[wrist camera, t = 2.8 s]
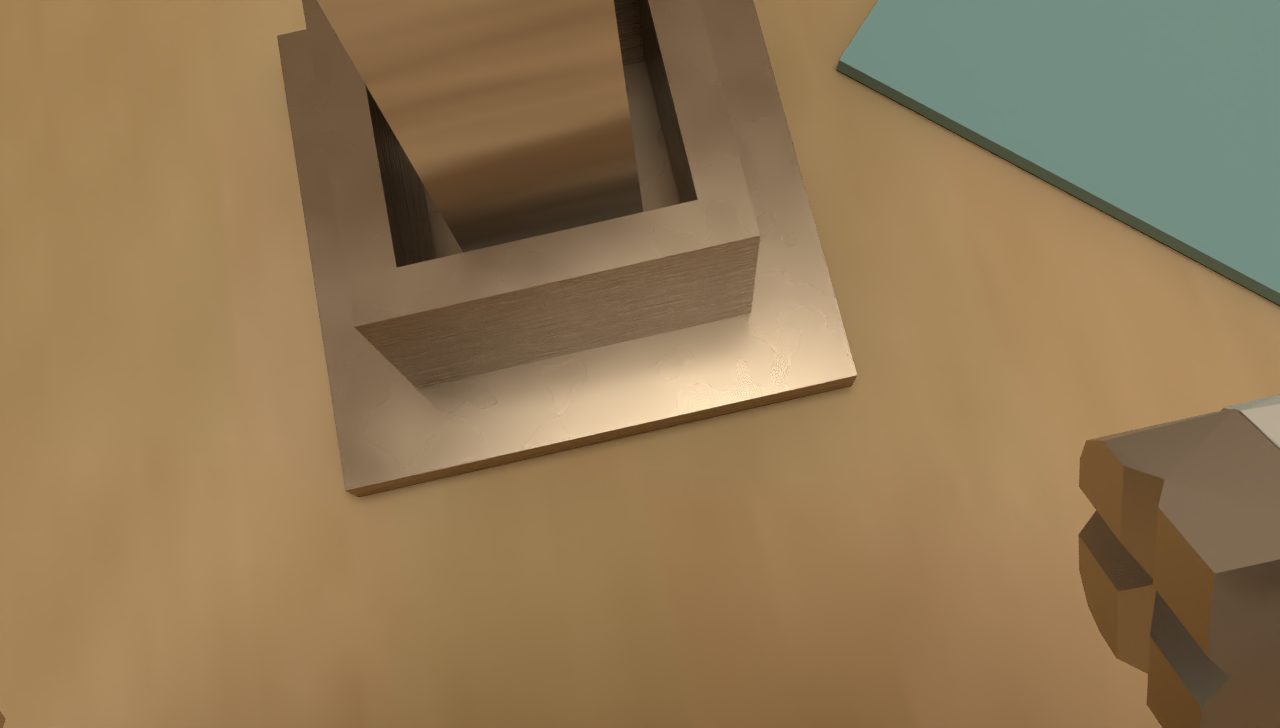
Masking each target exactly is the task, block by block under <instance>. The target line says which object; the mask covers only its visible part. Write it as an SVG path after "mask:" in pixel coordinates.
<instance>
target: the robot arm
mask: <svg viewBox="0 0 1280 728" xmlns="http://www.w3.org/2000/svg"><path fill="white" fill-rule="evenodd" d="M1079 487H1080V489H1081V490H1082V491H1083V493H1084V494H1085V495H1086V497H1087V498H1088V499H1089V501H1090V502H1091V503H1092V505H1093V506H1094V508H1095V509H1096V511H1095V513H1094V514H1093V516H1092V517H1091V518H1090V520H1089V521H1088V522H1087V524H1086V525H1085V527H1084V528H1083V529H1082V531H1081V532H1080V533H1079V571H1080V575H1081V579H1082V583H1083V587H1084V591H1085V595H1086V599H1087V603H1088V607H1089V609H1090V611H1091V613H1092V616H1093V618H1094V620H1095V622H1096V624H1097V627H1098V629H1099V631H1100V633H1101V635H1102V636H1103V638H1104V639H1105V641H1106V642H1107V644H1108V646H1109V647H1110V649H1111V650H1112V652H1113V653H1114V655H1115V657H1116V658H1117V659H1119V660H1121V661H1123V662H1125V663H1127V664H1129V665H1131V666H1133V667H1135V668H1137V669H1139V670H1141V671H1143V672H1145V673H1147V674H1148V687H1147V705H1148V707H1149V708H1150V710H1151V711H1152V713H1153V714H1154V716H1155V717H1156V719H1157V720H1158V722H1159V723H1160V725H1161V726H1162V728H1280V394H1279V395H1275V396H1271V397H1267V398H1263V399H1259V400H1254V401H1250V402H1246V403H1242V404H1238V405H1234V406H1230V407H1225V408H1223V409H1222V410H1221V411H1219V412H1213V413H1208V414H1204V415H1199V416H1195V417H1190V418H1186V419H1181V420H1177V421H1172V422H1168V423H1163V424H1159V425H1154V426H1150V427H1145V428H1141V429H1136V430H1131V431H1127V432H1122V433H1118V434H1113V435H1109V436H1104V437H1100V438H1095V439H1091V440H1086V443H1085V446H1084V448H1083V451H1082V454H1081V457H1080V475H1079ZM4 723H5V717H4V716H3V715H2V713H1V712H0V728H3V726H4Z"/></svg>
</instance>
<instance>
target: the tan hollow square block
mask: <svg viewBox="0 0 1280 728" xmlns="http://www.w3.org/2000/svg"><path fill="white" fill-rule="evenodd" d="M302 2H303V9H304V15H305V21H306V28H307V29H306V30H301V31H297V32H293V33H288V34H284V35H279V36H277V38H278V45H279V51H280V58H281V65H282V71H283V78H284V85H285V91H286V98H287V104H288V111H289V118H290V124H291V131H292V138H293V144H294V151H295V157H296V164H297V171H298V177H299V184H300V191H301V197H302V204H303V211H304V217H305V224H306V230H307V237H308V244H309V250H310V257H311V264H312V270H313V277H314V284H315V290H316V297H317V303H318V310H319V317H320V323H321V330H322V337H323V343H324V350H325V356H326V363H327V370H328V376H329V383H330V390H331V396H332V403H333V410H334V416H335V423H336V429H337V436H338V443H339V449H340V456H341V463H342V469H343V476H344V483H345V489H346V491H348V492H350V493H352V494H354V495H356V496H358V497H360V496H365V495H369V494H373V493H378V492H382V491H387V490H391V489H396V488H400V487H405V486H409V485H413V484H418V483H422V482H427V481H431V480H436V479H440V478H444V477H449V476H453V475H458V474H462V473H467V472H471V471H475V470H480V469H484V468H489V467H493V466H498V465H502V464H507V463H511V462H515V461H520V460H524V459H529V458H533V457H538V456H542V455H546V454H551V453H555V452H560V451H564V450H569V449H573V448H577V447H582V446H586V445H591V444H595V443H600V442H604V441H608V440H613V439H617V438H622V437H626V436H631V435H635V434H640V433H644V432H648V431H653V430H657V429H662V428H666V427H671V426H675V425H679V424H684V423H688V422H693V421H697V420H702V419H706V418H710V417H715V416H719V415H724V414H728V413H733V412H737V411H742V410H746V409H750V408H755V407H759V406H764V405H768V404H773V403H777V402H781V401H786V400H790V399H795V398H799V397H804V396H808V395H812V394H817V393H821V392H826V391H830V390H835V389H839V388H843V387H848V386H852V384H853V382H854V380H855V378H856V376H857V373H856V370H855V366H854V363H853V359H852V355H851V352H850V348H849V345H848V341H847V337H846V334H845V330H844V327H843V323H842V319H841V316H840V312H839V309H838V305H837V301H836V298H835V294H834V290H833V287H832V283H831V280H830V276H829V272H828V269H827V265H826V262H825V258H824V254H823V251H822V247H821V244H820V240H819V236H818V233H817V229H816V226H815V222H814V218H813V215H812V211H811V208H810V204H809V200H808V197H807V193H806V189H805V186H804V182H803V179H802V175H801V171H800V168H799V164H798V161H797V157H796V153H795V150H794V146H793V143H792V139H791V135H790V132H789V128H788V125H787V121H786V117H785V114H784V110H783V107H782V103H781V99H780V96H779V92H778V88H777V85H776V81H775V78H774V74H773V70H772V67H771V63H770V60H769V56H768V52H767V49H766V45H765V42H764V38H763V34H762V31H761V27H760V24H759V20H758V16H757V13H756V9H755V6H754V2H753V0H614V6H615V13H616V20H617V28H618V35H619V42H620V49H621V56H622V63H623V70H624V78H625V85H626V92H627V99H628V106H629V113H630V120H631V128H632V135H633V142H634V149H635V156H636V163H637V170H638V178H639V185H640V192H641V199H642V206H643V212H641V213H637V214H633V215H628V216H624V217H619V218H615V219H610V220H606V221H601V222H597V223H593V224H588V225H584V226H579V227H575V228H570V229H566V230H561V231H557V232H553V233H548V234H544V235H539V236H535V237H530V238H526V239H522V240H517V241H513V242H508V243H504V244H499V245H495V246H490V247H486V248H482V249H477V250H473V251H468V252H464V253H463V251H462V250H461V248H460V246H459V245H458V243H457V241H456V239H455V238H454V236H453V234H452V233H451V231H450V229H449V227H448V226H447V224H446V222H445V220H444V219H443V217H442V215H441V214H440V212H439V210H438V208H437V207H436V205H435V203H434V202H433V200H432V198H431V196H430V195H429V193H428V191H427V189H426V188H425V186H424V184H423V183H422V181H421V179H420V177H419V176H418V174H417V172H416V171H415V169H414V167H413V165H412V164H411V162H410V160H409V158H408V157H407V155H406V153H405V152H404V150H403V148H402V146H401V145H400V143H399V141H398V139H397V138H396V136H395V134H394V133H393V131H392V129H391V127H390V126H389V124H388V122H387V121H386V119H385V117H384V115H383V114H382V112H381V110H380V108H379V107H378V105H377V103H376V102H375V100H374V98H373V96H372V95H371V93H370V91H369V90H368V88H367V86H366V84H365V83H364V81H363V79H362V77H361V76H360V74H359V72H358V71H357V69H356V67H355V65H354V64H353V62H352V60H351V59H350V57H349V55H348V53H347V52H346V50H345V48H344V46H343V45H342V43H341V41H340V40H339V38H338V36H337V34H336V33H335V31H334V29H333V28H332V26H331V24H330V22H329V21H328V19H327V17H326V15H325V14H324V12H323V10H322V9H321V7H320V5H319V3H318V2H317V0H302Z"/></svg>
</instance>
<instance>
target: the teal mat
mask: <svg viewBox="0 0 1280 728" xmlns="http://www.w3.org/2000/svg"><path fill="white" fill-rule="evenodd" d="M837 70H838V71H840V72H842V73H844V74H846V75H847V76H849V77H851V78H853V79H855V80H857V81H859V82H861V83H863V84H864V85H866V86H868V87H870V88H872V89H874V90H876V91H878V92H879V93H881V94H883V95H885V96H887V97H889V98H891V99H893V100H894V101H896V102H898V103H900V104H902V105H904V106H906V107H908V108H910V109H911V110H913V111H915V112H917V113H919V114H921V115H923V116H925V117H926V118H928V119H930V120H932V121H934V122H936V123H938V124H940V125H942V126H943V127H945V128H947V129H949V130H951V131H953V132H955V133H957V134H958V135H960V136H962V137H964V138H966V139H968V140H970V141H972V142H973V143H975V144H977V145H979V146H981V147H983V148H985V149H987V150H989V151H990V152H992V153H994V154H996V155H998V156H1000V157H1002V158H1004V159H1005V160H1007V161H1009V162H1011V163H1013V164H1015V165H1017V166H1019V167H1021V168H1022V169H1024V170H1026V171H1028V172H1030V173H1032V174H1034V175H1036V176H1037V177H1039V178H1041V179H1043V180H1045V181H1047V182H1049V183H1051V184H1052V185H1054V186H1056V187H1058V188H1060V189H1062V190H1064V191H1066V192H1068V193H1069V194H1071V195H1073V196H1075V197H1077V198H1079V199H1081V200H1083V201H1084V202H1086V203H1088V204H1090V205H1092V206H1094V207H1096V208H1098V209H1100V210H1101V211H1103V212H1105V213H1107V214H1109V215H1111V216H1113V217H1115V218H1116V219H1118V220H1120V221H1122V222H1124V223H1126V224H1128V225H1130V226H1131V227H1133V228H1135V229H1137V230H1139V231H1141V232H1143V233H1145V234H1147V235H1148V236H1150V237H1152V238H1154V239H1156V240H1158V241H1160V242H1162V243H1163V244H1165V245H1167V246H1169V247H1171V248H1173V249H1175V250H1177V251H1179V252H1180V253H1182V254H1184V255H1186V256H1188V257H1190V258H1192V259H1194V260H1195V261H1197V262H1199V263H1201V264H1203V265H1205V266H1207V267H1209V268H1210V269H1212V270H1214V271H1216V272H1218V273H1220V274H1222V275H1224V276H1226V277H1227V278H1229V279H1231V280H1233V281H1235V282H1237V283H1239V284H1241V285H1242V286H1244V287H1246V288H1248V289H1250V290H1252V291H1254V292H1256V293H1258V294H1259V295H1261V296H1263V297H1265V298H1267V299H1269V300H1271V301H1273V302H1274V303H1276V304H1278V305H1280V0H878V1H877V3H876V4H875V6H874V7H873V9H872V11H871V12H870V14H869V15H868V17H867V18H866V20H865V21H864V23H863V24H862V26H861V27H860V29H859V30H858V32H857V33H856V35H855V36H854V38H853V39H852V41H851V42H850V44H849V46H848V47H847V49H846V50H845V52H844V53H843V55H842V56H841V58H840V59H839V62H838V67H837Z"/></svg>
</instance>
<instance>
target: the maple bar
mask: <svg viewBox="0 0 1280 728" xmlns="http://www.w3.org/2000/svg"><path fill="white" fill-rule="evenodd" d="M317 2H318V3H319V5H320V7H321V9H322V10H323V12H324V14H325V15H326V17H327V19H328V21H329V22H330V24H331V26H332V28H333V29H334V31H335V33H336V34H337V36H338V38H339V40H340V41H341V43H342V45H343V46H344V48H345V50H346V52H347V53H348V55H349V57H350V59H351V60H352V62H353V64H354V65H355V67H356V69H357V71H358V72H359V74H360V76H361V77H362V79H363V81H364V83H365V84H366V86H367V88H368V90H369V91H370V93H371V95H372V96H373V98H374V100H375V102H376V103H377V105H378V107H379V108H380V110H381V112H382V114H383V115H384V117H385V119H386V121H387V122H388V124H389V126H390V127H391V129H392V131H393V133H394V134H395V136H396V138H397V139H398V141H399V143H400V145H401V146H402V148H403V150H404V152H405V153H406V155H407V157H408V158H409V160H410V162H411V164H412V165H413V167H414V169H415V171H416V172H417V174H418V176H419V177H420V179H421V181H422V183H423V184H424V186H425V188H426V189H427V191H428V193H429V195H430V196H431V198H432V200H433V202H434V203H435V205H436V207H437V208H438V210H439V212H440V214H441V215H442V217H443V219H444V220H445V222H446V224H447V226H448V227H449V229H450V231H451V233H452V234H453V236H454V238H455V239H456V241H457V243H458V245H459V246H460V248H461V250H462V251H463V253H464V252H468V251H473V250H477V249H482V248H486V247H490V246H495V245H499V244H504V243H508V242H513V241H517V240H522V239H526V238H530V237H535V236H539V235H544V234H548V233H553V232H557V231H561V230H566V229H570V228H575V227H579V226H584V225H588V224H593V223H597V222H601V221H606V220H610V219H615V218H619V217H624V216H628V215H633V214H637V213H641V212H643V206H642V199H641V192H640V185H639V178H638V170H637V163H636V156H635V149H634V142H633V135H632V128H631V120H630V113H629V106H628V99H627V92H626V85H625V78H624V70H623V63H622V56H621V49H620V42H619V35H618V28H617V20H616V13H615V6H614V0H317Z"/></svg>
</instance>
